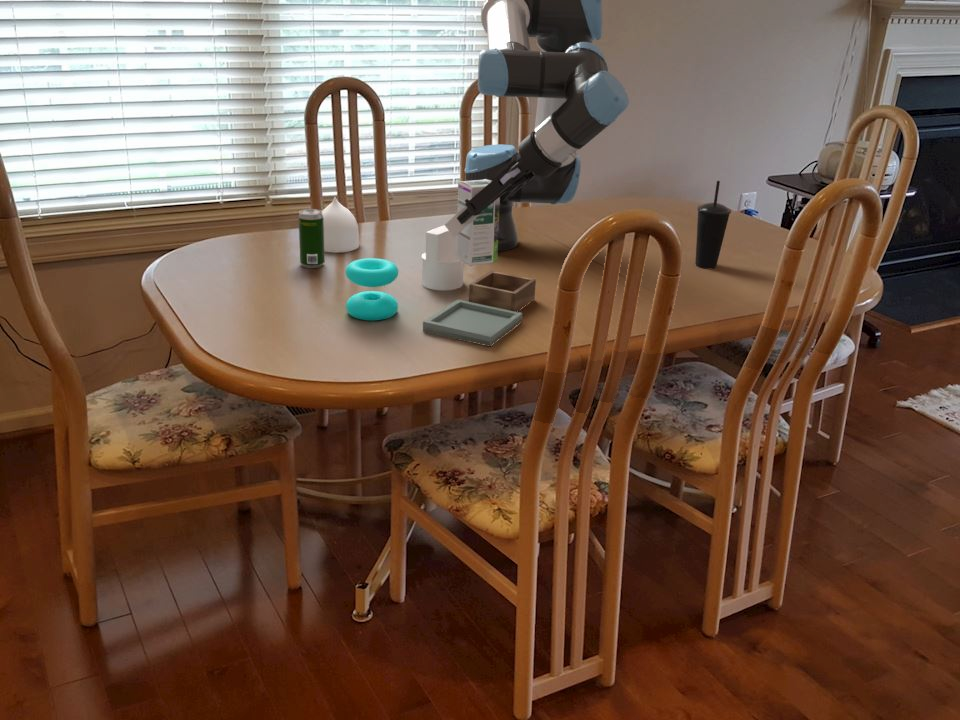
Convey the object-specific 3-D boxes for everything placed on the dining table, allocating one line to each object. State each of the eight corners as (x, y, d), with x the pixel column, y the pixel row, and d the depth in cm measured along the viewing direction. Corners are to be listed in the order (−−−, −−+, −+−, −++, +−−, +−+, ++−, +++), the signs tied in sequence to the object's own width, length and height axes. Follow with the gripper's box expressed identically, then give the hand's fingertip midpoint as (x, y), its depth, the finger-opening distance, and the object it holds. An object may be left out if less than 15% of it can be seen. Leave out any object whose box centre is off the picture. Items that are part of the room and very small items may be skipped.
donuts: (363, 253, 183) (407, 261, 179) (363, 301, 187) (407, 310, 183) (335, 266, 174) (381, 276, 171) (336, 316, 178) (381, 326, 175)
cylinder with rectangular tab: (447, 293, 193) (449, 237, 188) (412, 284, 197) (413, 229, 192) (471, 282, 200) (473, 228, 195) (436, 273, 204) (437, 220, 199)
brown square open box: (468, 305, 187) (469, 284, 185) (490, 291, 195) (491, 270, 193) (514, 315, 183) (515, 293, 181) (534, 300, 191) (535, 279, 189)
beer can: (326, 267, 205) (325, 214, 200) (302, 269, 203) (300, 215, 198) (322, 260, 209) (320, 208, 204) (298, 261, 208) (296, 209, 203)
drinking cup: (723, 272, 214) (736, 186, 206) (689, 268, 215) (701, 183, 207) (722, 262, 221) (735, 178, 213) (689, 259, 222) (701, 176, 214)
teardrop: (346, 255, 214) (346, 204, 209) (303, 248, 217) (302, 198, 212) (367, 242, 223) (366, 193, 219) (325, 236, 227) (324, 188, 222)
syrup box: (469, 266, 167) (472, 187, 161) (455, 257, 172) (457, 179, 166) (497, 263, 170) (501, 184, 164) (482, 254, 174) (486, 177, 168)
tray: (422, 331, 173) (423, 321, 172) (457, 308, 185) (457, 299, 184) (490, 347, 168) (490, 336, 167) (521, 322, 179) (522, 313, 179)
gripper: (538, 175, 148) (446, 255, 161) (583, 155, 165) (497, 229, 178) (510, 138, 148) (420, 221, 161) (557, 121, 165) (473, 197, 178)
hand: (460, 225), depth 170 cm, fingers closed on syrup box, 8 cm apart
